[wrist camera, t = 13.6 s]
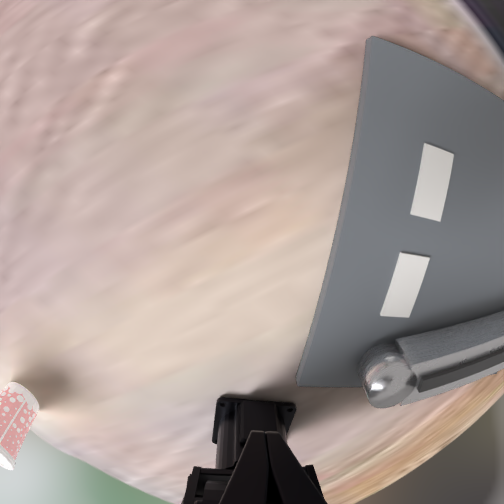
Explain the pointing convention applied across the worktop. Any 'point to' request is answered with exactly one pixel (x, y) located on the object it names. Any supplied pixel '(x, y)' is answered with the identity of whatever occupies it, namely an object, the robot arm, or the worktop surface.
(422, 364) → the bar
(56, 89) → the worktop surface
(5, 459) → the beverage cup
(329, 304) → the label board
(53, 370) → the worktop surface
